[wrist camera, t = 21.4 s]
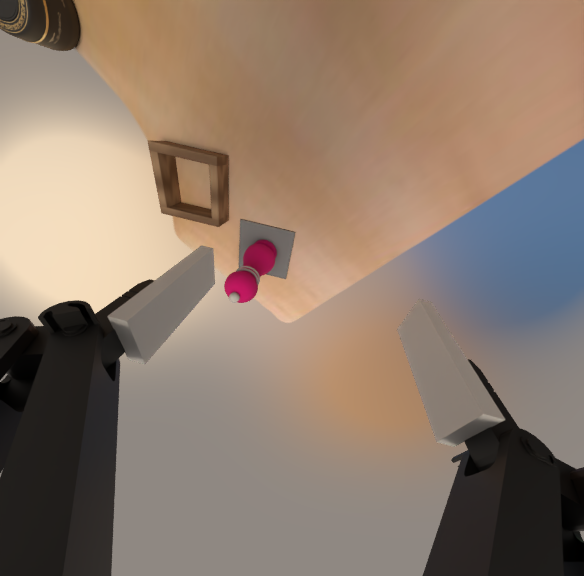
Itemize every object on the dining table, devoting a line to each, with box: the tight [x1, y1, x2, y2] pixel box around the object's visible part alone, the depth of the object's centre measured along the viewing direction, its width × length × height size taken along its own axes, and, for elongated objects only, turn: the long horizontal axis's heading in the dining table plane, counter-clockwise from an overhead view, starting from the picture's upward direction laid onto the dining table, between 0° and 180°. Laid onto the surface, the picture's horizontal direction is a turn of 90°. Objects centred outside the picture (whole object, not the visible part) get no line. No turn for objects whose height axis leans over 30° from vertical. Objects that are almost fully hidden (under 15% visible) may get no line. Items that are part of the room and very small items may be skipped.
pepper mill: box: [224, 240, 277, 303], centre depth 43 cm, size 7×7×20 cm
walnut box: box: [148, 141, 229, 227], centre depth 43 cm, size 13×13×5 cm
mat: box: [239, 219, 295, 279], centre depth 51 cm, size 13×13×1 cm
